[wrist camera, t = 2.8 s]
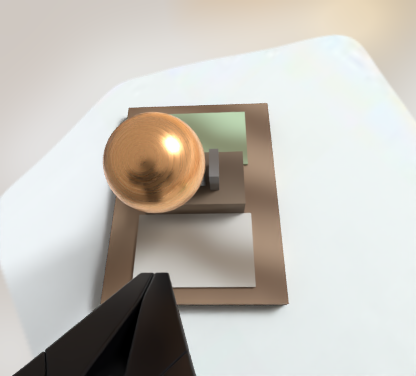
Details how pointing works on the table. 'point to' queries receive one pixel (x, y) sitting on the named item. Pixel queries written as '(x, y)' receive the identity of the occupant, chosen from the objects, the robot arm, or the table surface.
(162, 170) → the toggle lever
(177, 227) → the switch base
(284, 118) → the table surface
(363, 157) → the table surface
